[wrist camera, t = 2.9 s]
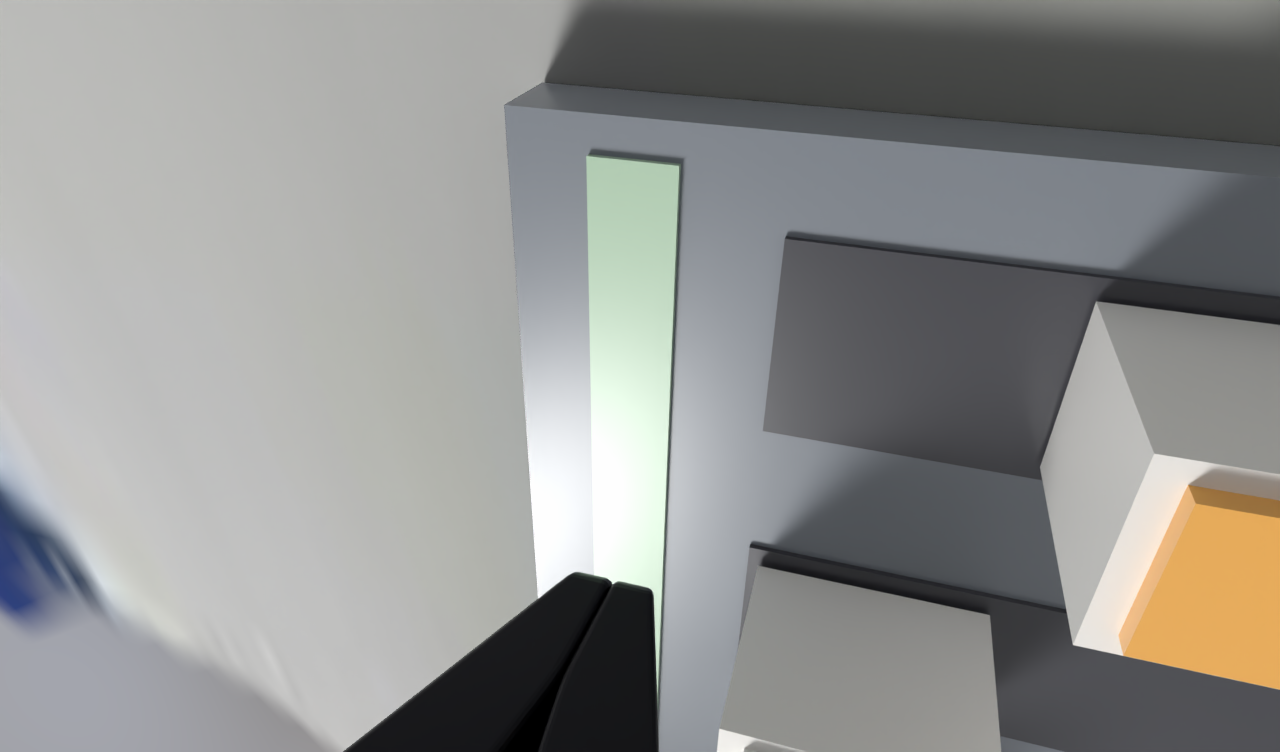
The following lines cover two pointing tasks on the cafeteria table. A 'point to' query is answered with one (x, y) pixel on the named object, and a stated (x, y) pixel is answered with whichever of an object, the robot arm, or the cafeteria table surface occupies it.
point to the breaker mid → (858, 673)
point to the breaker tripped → (1171, 491)
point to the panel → (856, 371)
